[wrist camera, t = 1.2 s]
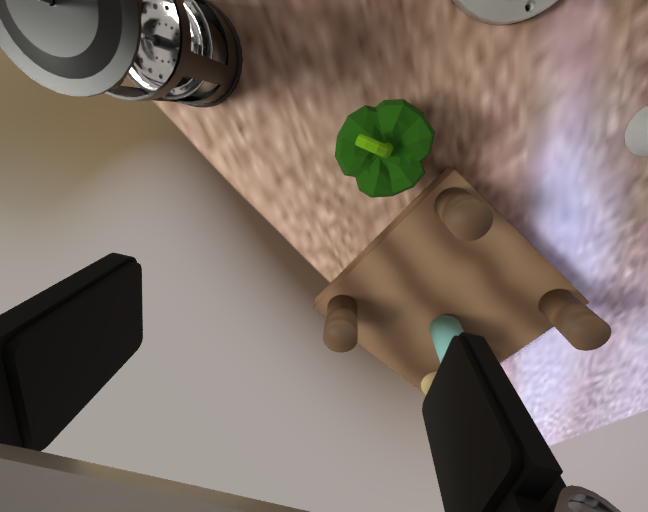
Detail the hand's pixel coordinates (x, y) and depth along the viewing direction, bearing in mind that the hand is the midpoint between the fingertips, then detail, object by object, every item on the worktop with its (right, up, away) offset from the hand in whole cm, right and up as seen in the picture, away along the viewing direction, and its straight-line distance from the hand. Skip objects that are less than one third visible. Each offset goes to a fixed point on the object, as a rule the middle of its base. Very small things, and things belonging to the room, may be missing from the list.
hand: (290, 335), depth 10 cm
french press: (-12, +23, +23) cm, 35 cm away
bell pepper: (+7, +14, +25) cm, 30 cm away
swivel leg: (+18, -8, +30) cm, 36 cm away
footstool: (+15, -2, +31) cm, 35 cm away
